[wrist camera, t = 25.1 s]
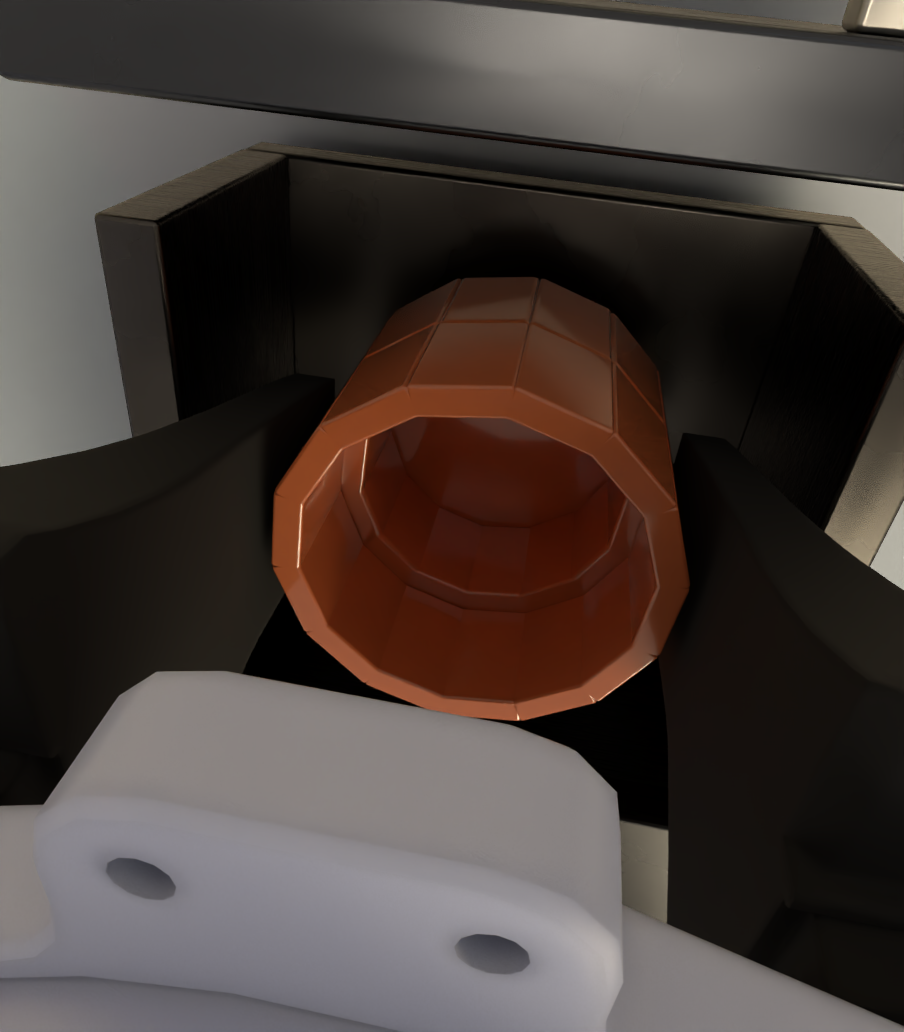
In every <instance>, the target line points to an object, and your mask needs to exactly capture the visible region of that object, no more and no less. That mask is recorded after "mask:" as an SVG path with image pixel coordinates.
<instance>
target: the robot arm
mask: <svg viewBox="0 0 904 1032" xmlns="http://www.w3.org/2000/svg"><path fill="white" fill-rule="evenodd" d="M334 399H335V379H332V378H326V377H319V376H313V375H306V374H300V373H296V374H293V375H289V376H286V377H283V378H281V379H278V380H276V381H273V382H271V383H268V384H266V385H264V386H261V387H259V388H257V389H255V390H252V391H250V392H248V393H246V394H243V395H241V396H239V397H236V398H234V399H232V400H230V401H227V402H225V403H223V404H220V405H218V406H216V407H213V408H211V409H209V410H206V411H204V412H201V413H199V414H196V415H193V416H191V417H188V418H186V419H183V420H180V421H178V422H175V423H173V424H170V425H167V426H165V427H162V428H160V429H157V430H154V431H151V432H148V433H145V434H142V435H139V436H136V437H133V438H129V439H126V440H123V441H119V442H115V443H112V444H108V445H105V446H101V447H97V448H94V449H90V450H86V451H81V452H77V453H72V454H67V455H62V456H57V457H52V458H47V459H42V460H37V461H32V462H27V463H22V464H16V465H10V466H3V467H0V1032H904V590H902V589H901V588H899V587H898V586H896V585H895V584H893V583H892V582H890V581H889V580H887V579H886V578H885V577H883V576H882V575H880V574H879V573H877V572H876V571H875V570H873V569H872V568H870V567H869V566H867V565H866V564H865V563H863V562H862V561H860V560H859V559H858V558H856V557H855V556H854V555H852V554H851V553H850V552H848V551H847V550H846V549H844V548H843V547H842V546H841V545H839V544H838V543H837V542H836V541H835V540H833V539H832V538H831V537H830V536H829V535H828V534H826V533H825V532H824V531H823V530H822V529H820V528H819V527H818V526H817V525H816V524H814V523H813V522H812V521H811V520H810V519H809V518H808V517H806V516H805V515H804V514H803V513H802V512H801V511H800V510H799V509H798V508H797V507H795V506H794V505H793V504H792V503H791V502H790V501H789V500H788V499H787V498H786V497H785V496H784V495H783V494H782V493H781V492H780V491H779V490H778V489H777V488H776V487H775V486H774V485H773V484H771V483H770V482H769V481H768V480H767V479H766V478H765V477H764V476H763V475H762V474H761V473H760V472H759V471H758V470H757V469H756V468H755V467H754V466H753V465H752V464H751V463H750V462H749V461H748V460H747V459H746V458H745V457H744V456H743V455H742V454H741V453H740V452H739V451H738V450H737V449H736V448H735V447H734V446H733V445H732V444H731V443H729V442H728V441H727V440H725V439H724V438H717V437H710V436H704V435H697V434H691V433H684V432H683V435H682V438H681V441H680V445H679V448H678V452H677V455H676V458H675V462H674V471H675V478H676V485H677V492H678V499H679V506H680V513H681V520H682V527H683V534H684V541H685V548H686V555H687V562H688V569H689V576H690V583H691V584H690V591H689V593H688V595H687V597H686V599H685V602H684V604H683V606H682V608H681V610H680V613H679V615H678V617H677V619H676V621H675V624H674V626H673V628H672V630H671V632H670V635H669V637H668V639H667V641H666V643H665V646H664V648H663V650H662V652H661V654H660V655H659V656H658V659H659V666H660V674H661V681H662V689H663V696H664V704H665V711H666V724H667V736H668V892H667V924H666V923H664V922H661V921H659V920H657V919H654V918H652V917H650V916H647V915H645V914H643V913H641V912H638V911H636V910H634V909H631V908H629V907H627V906H624V905H622V880H621V832H620V821H619V810H618V799H617V792H616V791H615V790H614V789H613V788H612V787H611V786H610V785H609V784H608V783H607V782H606V781H605V780H604V779H603V778H602V777H601V776H600V775H599V774H598V773H597V772H596V771H595V770H594V769H593V768H592V767H591V766H590V764H589V763H588V762H587V761H586V760H585V759H584V758H583V757H582V756H581V755H580V754H579V753H578V752H577V751H575V750H573V749H571V748H569V747H567V746H565V745H562V744H559V743H557V742H554V741H552V740H549V739H546V738H544V737H541V736H538V735H536V734H533V733H531V732H528V731H525V730H523V729H520V728H517V727H515V726H512V725H509V724H504V723H498V722H493V721H488V720H482V719H477V718H472V717H467V716H461V715H456V714H451V713H445V712H440V711H435V710H429V709H424V708H419V707H413V706H408V705H403V704H398V703H392V702H387V701H382V700H376V699H371V698H366V697H360V696H355V695H350V694H345V693H339V692H334V691H329V690H323V689H318V688H313V687H307V686H302V685H297V684H292V683H286V682H281V681H276V680H270V679H265V678H260V677H254V676H249V675H244V674H242V673H243V670H244V668H245V665H246V663H247V661H248V659H249V657H250V655H251V653H252V651H253V649H254V647H255V645H256V643H257V641H258V639H259V637H260V635H261V633H262V632H263V630H264V628H265V626H266V625H267V623H268V621H269V619H270V618H271V616H272V614H273V612H274V611H275V609H276V607H277V606H278V604H279V602H280V600H281V599H282V597H283V595H284V593H285V592H284V590H283V588H282V586H281V584H280V582H279V580H278V578H277V576H276V574H275V572H274V570H273V567H272V566H273V565H272V563H271V554H272V523H273V493H274V492H275V487H276V486H277V484H278V483H279V481H280V480H281V478H282V477H283V475H284V474H285V472H286V471H287V469H288V468H289V466H290V465H291V463H292V462H293V460H294V459H295V457H296V456H297V454H298V453H299V451H300V450H301V448H302V447H303V445H304V444H305V442H306V441H307V439H308V438H309V436H310V435H311V433H312V432H313V430H314V429H315V427H316V426H317V424H318V423H319V421H320V420H321V418H322V417H323V415H324V414H325V412H326V411H327V409H328V408H329V406H330V405H331V403H332V402H333V400H334Z"/></svg>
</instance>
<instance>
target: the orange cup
mask: <svg viewBox="0 0 904 1032" xmlns="http://www.w3.org/2000/svg"><path fill="white" fill-rule="evenodd" d="M271 563H272V565H273V566H272V567H273V570H274V572H275V574H276V576H277V578H278V580H279V582H280V584H281V586H282V588H283V590H284V592H285V594H286V596H287V598H288V600H289V602H290V604H291V606H292V608H293V610H294V612H295V614H296V616H297V618H298V620H299V622H300V624H301V626H302V628H303V630H304V631H306V633H307V635H308V636H309V637H311V638H312V639H313V640H314V641H315V642H316V643H317V644H319V645H320V646H321V647H322V648H323V649H324V650H326V651H327V652H328V653H329V654H330V655H331V656H333V657H334V658H335V659H336V660H337V661H338V662H339V663H341V664H342V665H343V666H344V667H345V668H346V669H348V670H349V671H350V672H351V673H352V674H353V675H355V676H356V677H357V678H358V679H359V680H360V681H361V682H364V683H365V682H366V684H367V685H368V686H371V687H373V688H376V689H378V690H380V691H383V692H385V693H388V694H390V695H393V696H395V697H398V698H400V699H402V700H405V701H407V702H410V703H412V704H415V705H417V706H420V707H422V708H424V709H429V710H435V711H440V712H445V713H451V714H456V715H461V716H467V717H474V718H486V719H498V720H509V721H519V720H521V721H524V720H528V719H532V718H537V717H541V716H545V715H549V714H553V713H557V712H561V711H565V710H569V709H573V708H577V707H582V706H586V705H590V704H594V703H596V702H597V701H601V700H602V699H603V698H605V697H606V696H607V695H609V694H610V693H611V692H613V691H614V690H615V689H617V688H618V687H619V686H621V685H622V684H624V683H625V682H626V681H628V680H629V679H630V678H632V677H633V676H634V675H636V674H637V673H638V672H640V671H641V670H642V669H644V668H645V667H647V666H648V665H649V664H651V663H652V662H653V661H655V660H656V659H657V658H658V656H659V655H660V654H661V652H662V650H663V648H664V646H665V643H666V641H667V639H668V637H669V635H670V632H671V630H672V628H673V626H674V624H675V621H676V619H677V617H678V615H679V613H680V610H681V608H682V606H683V604H684V602H685V599H686V597H687V595H688V593H689V591H690V584H691V583H690V576H689V569H688V562H687V555H686V548H685V541H684V534H683V527H682V520H681V513H680V506H679V499H678V492H677V485H676V478H675V471H674V464H673V457H672V450H671V443H670V436H669V429H668V423H667V416H666V410H665V404H664V397H663V391H662V385H661V378H660V373H659V371H658V370H657V368H656V366H655V364H654V363H653V362H652V360H651V359H650V358H649V357H648V355H647V354H646V353H645V351H644V350H643V349H642V348H641V346H640V345H639V344H638V342H637V341H636V340H635V339H634V337H633V336H632V335H631V333H630V332H629V331H628V330H627V328H626V327H625V326H624V324H623V323H622V322H621V321H620V319H619V318H618V317H617V315H615V314H613V313H611V311H610V310H609V309H608V308H606V307H604V306H601V305H599V304H597V303H595V302H593V301H591V300H589V299H586V298H584V297H582V296H580V295H578V294H576V293H574V292H572V291H569V290H567V289H565V288H563V287H561V286H559V285H557V284H555V283H552V282H550V281H548V280H546V279H540V280H539V279H538V278H535V277H496V278H464V279H462V280H461V279H456V280H454V281H452V282H450V283H448V284H446V285H444V286H442V287H440V288H438V289H436V290H434V291H432V292H430V293H428V294H426V295H424V296H422V297H421V298H419V299H417V300H415V301H413V302H411V303H409V304H407V305H405V306H403V307H401V308H399V309H397V310H396V311H395V313H394V314H393V315H392V316H390V317H389V319H388V320H387V322H386V323H385V325H384V326H383V328H382V329H381V331H380V332H379V333H378V335H377V336H376V338H375V339H374V341H373V342H372V344H371V345H370V347H369V348H368V350H367V351H366V352H365V354H364V355H363V357H362V358H361V360H360V361H359V363H358V364H357V366H356V367H355V369H354V370H353V372H352V373H351V375H350V376H349V378H348V379H347V381H346V382H345V384H344V385H343V387H342V388H341V390H340V391H339V393H338V394H337V396H336V397H335V399H334V400H333V402H332V403H331V405H330V406H329V408H328V409H327V411H326V412H325V414H324V415H323V417H322V418H321V420H320V421H319V423H318V424H317V426H316V427H315V429H314V430H313V432H312V433H311V435H310V436H309V438H308V439H307V441H306V442H305V444H304V445H303V447H302V448H301V450H300V451H299V453H298V454H297V456H296V457H295V459H294V460H293V462H292V463H291V465H290V466H289V468H288V469H287V471H286V472H285V474H284V475H283V477H282V478H281V480H280V481H279V483H278V484H277V486H276V487H275V492H274V493H273V523H272V554H271Z"/></svg>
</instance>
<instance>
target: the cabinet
mask: <svg viewBox="0 0 904 1032" xmlns="http://www.w3.org/2000/svg"><path fill="white" fill-rule="evenodd" d="M599 775H600V776H601V777H602V778H603V779H604V780H605V781H606V782H607V783H608V784H609V785H610V786H611V787H612V788H613V789H614V790H615V791H616V792H617V799H618V810H619V821H620V832H621V880H622V905H624V906H627V907H629V908H631V909H634V910H636V911H638V912H641V913H643V914H645V915H647V916H650V917H652V918H654V919H657V920H659V921H661V922H664V923H666V924H667V892H668V787H663V786H658V785H653V784H648V783H643V782H637V781H632V780H627V779H622V778H617V777H612V776H606V775H601V774H599Z"/></svg>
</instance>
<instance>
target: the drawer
mask: <svg viewBox="0 0 904 1032" xmlns="http://www.w3.org/2000/svg"><path fill="white" fill-rule="evenodd" d="M0 75H1V76H2V77H5V78H7V79H9V80H13V81H21V82H29V83H37V84H45V85H53V86H61V87H69V88H78V89H86V90H94V91H102V92H110V93H118V94H126V95H134V96H142V97H150V98H158V99H166V100H174V101H182V102H190V103H198V104H206V105H214V106H222V107H230V108H238V109H246V110H254V111H262V112H271V113H279V114H287V115H295V116H303V117H311V118H319V119H327V120H335V121H343V122H351V123H359V124H367V125H375V126H383V127H391V128H399V129H407V130H415V131H423V132H431V133H439V134H447V135H455V136H464V137H472V138H480V139H488V140H496V141H504V142H512V143H520V144H528V145H536V146H544V147H552V148H560V149H568V150H576V151H584V152H592V153H600V154H608V155H616V156H624V157H632V158H640V159H648V160H657V161H665V162H673V163H681V164H689V165H697V166H705V167H713V168H721V169H729V170H737V171H745V172H753V173H761V174H769V175H777V176H785V177H793V178H801V179H809V180H817V181H825V182H833V183H841V184H850V185H858V186H866V187H874V188H882V189H890V190H898V191H904V0H849V2H848V5H847V8H846V11H845V14H844V17H843V20H842V26H841V25H832V24H822V23H813V22H804V21H794V20H785V19H776V18H767V17H757V16H748V15H739V14H729V13H720V12H711V11H701V10H692V9H683V8H673V7H664V6H655V5H646V4H636V3H627V2H618V1H608V0H0ZM95 223H96V229H97V235H98V241H99V247H100V252H101V258H102V264H103V270H104V276H105V281H106V287H107V293H108V299H109V305H110V310H111V316H112V322H113V328H114V334H115V339H116V345H117V351H118V357H119V363H120V368H121V374H122V380H123V386H124V392H125V397H126V403H127V409H128V415H129V420H130V426H131V432H132V438H133V437H136V436H139V435H142V434H145V433H148V432H151V431H154V430H157V429H160V428H162V427H165V426H167V425H170V424H173V423H175V422H178V421H180V420H183V419H186V418H188V417H191V416H193V415H196V414H199V413H201V412H204V411H206V410H209V409H211V408H213V407H216V406H218V405H220V404H223V403H225V402H227V401H230V400H232V399H234V398H236V397H239V396H241V395H243V394H246V393H248V392H250V391H252V390H255V389H257V388H259V387H261V386H264V385H266V384H268V383H271V382H273V381H276V380H278V379H281V378H283V377H286V376H289V375H293V374H296V373H300V374H306V375H313V376H319V377H326V378H332V379H335V397H336V396H337V394H338V393H339V391H340V390H341V388H342V387H343V385H344V384H345V382H346V381H347V379H348V378H349V376H350V375H351V373H352V372H353V370H354V369H355V367H356V366H357V364H358V363H359V361H360V360H361V358H362V357H363V355H364V354H365V352H366V351H367V350H368V348H369V347H370V345H371V344H372V342H373V341H374V339H375V338H376V336H377V335H378V333H379V332H380V331H381V329H382V328H383V326H384V325H385V323H386V322H387V320H388V319H389V317H390V316H392V315H393V314H394V313H395V311H396V310H397V309H399V308H401V307H403V306H405V305H407V304H409V303H411V302H413V301H415V300H417V299H419V298H421V297H422V296H424V295H426V294H428V293H430V292H432V291H434V290H436V289H438V288H440V287H442V286H444V285H446V284H448V283H450V282H452V281H454V280H456V279H461V280H462V279H464V278H496V277H535V278H538V279H539V280H540V279H546V280H548V281H550V282H552V283H555V284H557V285H559V286H561V287H563V288H565V289H567V290H569V291H572V292H574V293H576V294H578V295H580V296H582V297H584V298H586V299H589V300H591V301H593V302H595V303H597V304H599V305H601V306H604V307H606V308H608V309H609V310H610V311H611V313H613V314H615V315H617V317H618V318H619V319H620V321H621V322H622V323H623V324H624V326H625V327H626V328H627V330H628V331H629V332H630V333H631V335H632V336H633V337H634V339H635V340H636V341H637V342H638V344H639V345H640V346H641V348H642V349H643V350H644V351H645V353H646V354H647V355H648V357H649V358H650V359H651V360H652V362H653V363H654V364H655V366H656V368H657V370H658V371H659V373H660V378H661V385H662V391H663V397H664V404H665V410H666V416H667V423H668V429H669V436H670V443H671V450H672V457H673V464H674V462H675V458H676V455H677V452H678V448H679V445H680V441H681V438H682V435H683V432H684V433H691V434H697V435H704V436H710V437H717V438H724V439H725V440H727V441H728V442H729V443H731V444H732V445H733V446H734V447H735V448H736V449H737V450H738V451H739V452H740V453H741V454H742V455H743V456H744V457H745V458H746V459H747V460H748V461H749V462H750V463H751V464H752V465H753V466H754V467H755V468H756V469H757V470H758V471H759V472H760V473H761V474H762V475H763V476H764V477H765V478H766V479H767V480H768V481H769V482H770V483H771V484H773V485H774V486H775V487H776V488H777V489H778V490H779V491H780V492H781V493H782V494H783V495H784V496H785V497H786V498H787V499H788V500H789V501H790V502H791V503H792V504H793V505H794V506H795V507H797V508H798V509H799V510H800V511H801V512H802V513H803V514H804V515H805V516H806V517H808V518H809V519H810V520H811V521H812V522H813V523H814V524H816V525H817V526H818V527H819V528H820V529H822V530H823V531H824V532H825V533H826V534H828V535H829V536H830V537H831V538H832V539H833V540H835V541H836V542H837V543H838V544H839V545H841V546H842V547H843V548H844V549H846V550H847V551H848V552H850V553H851V554H852V555H854V556H855V557H856V558H858V559H859V560H860V561H862V562H863V563H865V564H866V565H867V566H869V567H870V565H871V563H872V562H873V560H874V558H875V556H876V554H877V552H878V550H879V548H880V546H881V544H882V542H883V540H884V538H885V536H886V534H887V532H888V530H889V528H890V526H891V524H892V522H893V520H894V518H895V516H896V515H897V513H898V511H899V509H900V507H901V505H902V503H903V501H904V262H902V261H901V260H900V259H899V258H898V257H897V256H896V255H895V254H894V253H893V252H892V251H890V250H889V249H888V248H887V247H886V246H885V245H884V244H883V243H882V242H881V241H880V240H878V239H877V238H876V237H875V236H874V235H873V234H872V233H871V232H870V231H868V230H866V229H865V228H864V227H863V226H862V225H861V224H860V223H859V222H857V221H856V220H855V219H854V218H852V217H845V216H837V215H829V214H822V213H814V212H806V211H798V210H790V209H782V208H775V207H767V206H759V205H751V204H743V203H736V202H728V201H720V200H712V199H704V198H696V197H689V196H681V195H673V194H665V193H657V192H649V191H642V190H634V189H626V188H618V187H610V186H603V185H595V184H587V183H579V182H571V181H563V180H556V179H548V178H540V177H532V176H524V175H516V174H509V173H501V172H493V171H485V170H477V169H470V168H462V167H454V166H446V165H438V164H430V163H423V162H415V161H407V160H399V159H391V158H384V157H376V156H368V155H360V154H352V153H344V152H337V151H329V150H321V149H313V148H305V147H297V146H290V145H282V144H274V143H266V142H261V143H258V144H256V145H254V146H251V147H249V148H247V149H245V150H244V149H243V150H240V151H238V152H236V153H233V154H231V155H229V156H227V157H224V158H222V159H220V160H217V161H215V162H213V163H211V164H208V165H206V166H204V167H201V168H199V169H197V170H195V171H192V172H190V173H188V174H185V175H183V176H181V177H179V178H176V179H174V180H172V181H169V182H167V183H165V184H163V185H160V186H158V187H156V188H153V189H151V190H149V191H147V192H144V193H142V194H140V195H137V196H135V197H133V198H131V199H128V200H126V201H124V202H121V203H119V204H117V205H115V206H112V207H110V208H108V209H105V210H103V211H101V212H99V213H96V215H95ZM242 674H244V675H249V676H254V677H260V678H265V679H270V680H276V681H281V682H286V683H292V684H297V685H302V686H307V687H313V688H318V689H323V690H329V691H334V692H339V693H345V694H350V695H355V696H360V697H366V698H371V699H376V700H382V701H387V702H392V703H398V704H403V705H408V706H413V707H419V708H422V707H420V706H417V705H415V704H412V703H410V702H407V701H405V700H402V699H400V698H398V697H395V696H393V695H390V694H388V693H385V692H383V691H380V690H378V689H376V688H373V687H371V686H368V685H367V684H366V682H365V683H364V682H361V681H360V680H359V679H358V678H357V677H356V676H355V675H353V674H352V673H351V672H350V671H349V670H348V669H346V668H345V667H344V666H343V665H342V664H341V663H339V662H338V661H337V660H336V659H335V658H334V657H333V656H331V655H330V654H329V653H328V652H327V651H326V650H324V649H323V648H322V647H321V646H320V645H319V644H317V643H316V642H315V641H314V640H313V639H312V638H311V637H309V636H308V635H307V633H306V631H304V630H303V628H302V626H301V624H300V622H299V620H298V618H297V616H296V614H295V612H294V610H293V608H292V606H291V604H290V602H289V600H288V598H287V596H286V594H285V593H284V595H283V597H282V599H281V600H280V602H279V604H278V606H277V607H276V609H275V611H274V612H273V614H272V616H271V618H270V619H269V621H268V623H267V625H266V626H265V628H264V630H263V632H262V633H261V635H260V637H259V639H258V641H257V643H256V645H255V647H254V649H253V651H252V653H251V655H250V657H249V659H248V661H247V663H246V665H245V668H244V670H243V673H242ZM472 718H474V717H472ZM477 719H482V720H488V721H493V722H498V723H504V724H509V725H512V726H515V727H517V728H520V729H523V730H525V731H528V732H531V733H533V734H536V735H538V736H541V737H544V738H546V739H549V740H552V741H554V742H557V743H559V744H562V745H565V746H567V747H569V748H571V749H573V750H575V751H577V752H578V753H579V754H580V755H581V756H582V757H583V758H584V759H585V760H586V761H587V762H588V763H589V764H590V766H591V767H592V768H593V769H594V770H595V771H596V772H597V773H598V774H601V775H606V776H612V777H617V778H622V779H627V780H632V781H637V782H643V783H648V784H653V785H658V786H663V787H668V736H667V724H666V711H665V704H664V696H663V689H662V681H661V674H660V666H659V659H658V658H657V659H656V660H655V661H653V662H652V663H651V664H649V665H648V666H647V667H645V668H644V669H642V670H641V671H640V672H638V673H637V674H636V675H634V676H633V677H632V678H630V679H629V680H628V681H626V682H625V683H624V684H622V685H621V686H619V687H618V688H617V689H615V690H614V691H613V692H611V693H610V694H609V695H607V696H606V697H605V698H603V699H602V700H601V701H597V702H596V703H594V704H590V705H586V706H582V707H577V708H573V709H569V710H565V711H561V712H557V713H553V714H549V715H545V716H541V717H537V718H532V719H528V720H524V721H521V720H519V721H509V720H498V719H486V718H477Z"/></svg>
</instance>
